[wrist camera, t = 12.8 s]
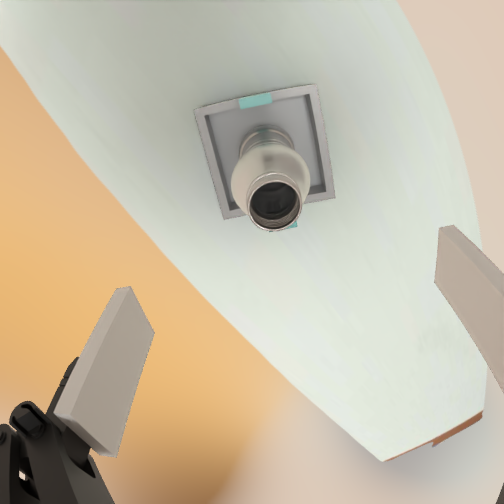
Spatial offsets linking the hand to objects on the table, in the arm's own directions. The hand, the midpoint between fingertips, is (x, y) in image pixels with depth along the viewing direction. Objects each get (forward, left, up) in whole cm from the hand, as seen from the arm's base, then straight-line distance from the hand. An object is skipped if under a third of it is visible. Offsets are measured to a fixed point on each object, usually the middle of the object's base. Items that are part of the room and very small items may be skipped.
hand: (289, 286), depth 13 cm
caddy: (0, 0, -30) cm, 30 cm away
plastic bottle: (0, 0, -29) cm, 29 cm away
